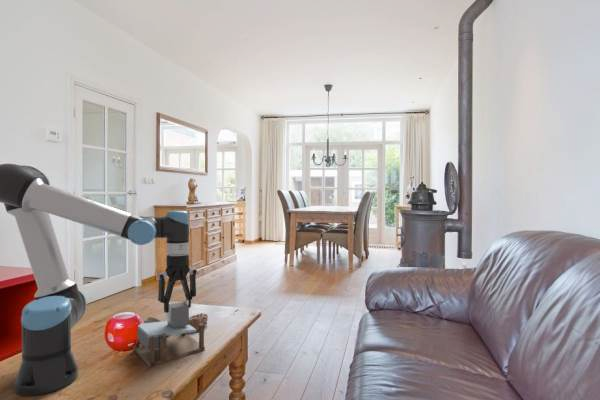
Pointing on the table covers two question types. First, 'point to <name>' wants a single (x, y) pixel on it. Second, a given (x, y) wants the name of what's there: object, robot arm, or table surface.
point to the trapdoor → (159, 331)
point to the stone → (153, 319)
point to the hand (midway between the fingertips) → (177, 319)
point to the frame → (170, 347)
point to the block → (179, 315)
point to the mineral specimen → (198, 320)
